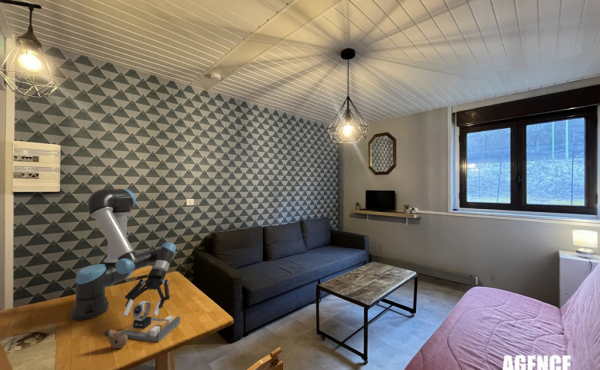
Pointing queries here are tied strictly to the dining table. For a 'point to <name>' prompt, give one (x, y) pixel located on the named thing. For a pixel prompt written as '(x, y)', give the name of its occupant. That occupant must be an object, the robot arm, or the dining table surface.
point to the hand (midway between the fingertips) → (139, 315)
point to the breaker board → (147, 335)
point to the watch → (141, 320)
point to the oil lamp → (116, 338)
